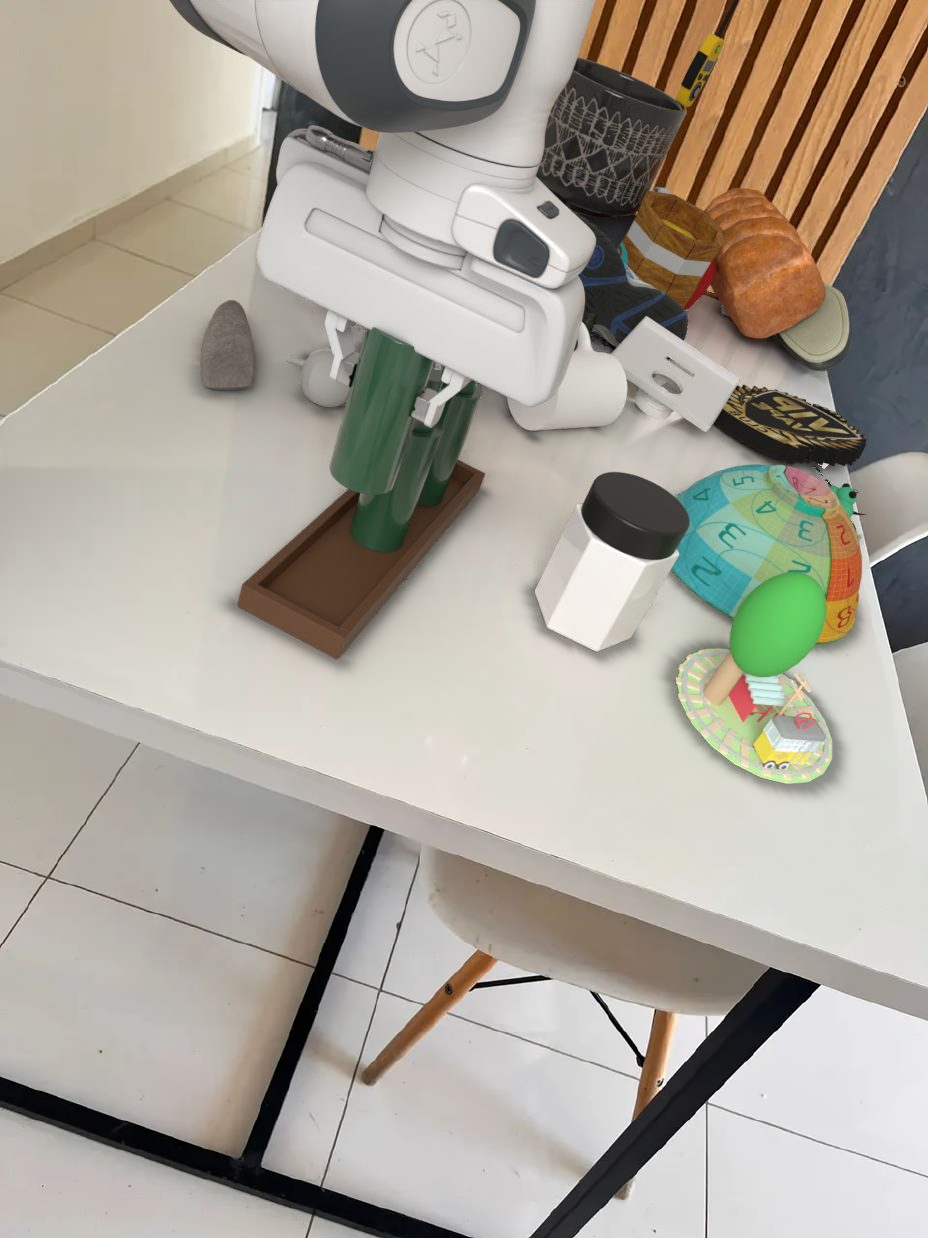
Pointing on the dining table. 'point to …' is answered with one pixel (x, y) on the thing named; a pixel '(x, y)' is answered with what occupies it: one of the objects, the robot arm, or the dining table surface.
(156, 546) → the dining table surface
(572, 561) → the jar
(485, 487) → the dining table surface
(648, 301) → the running shoe
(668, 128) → the planter
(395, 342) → the bottle
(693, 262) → the mug
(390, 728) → the dining table surface
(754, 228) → the bread
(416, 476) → the tray bottle
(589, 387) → the mug
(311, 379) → the figurine
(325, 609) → the tray
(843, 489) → the toy
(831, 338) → the boat shoe
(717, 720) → the train set
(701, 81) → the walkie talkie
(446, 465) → the tray bottle
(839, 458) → the emblem
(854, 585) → the bowl
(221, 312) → the stone tool
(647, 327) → the light switch
